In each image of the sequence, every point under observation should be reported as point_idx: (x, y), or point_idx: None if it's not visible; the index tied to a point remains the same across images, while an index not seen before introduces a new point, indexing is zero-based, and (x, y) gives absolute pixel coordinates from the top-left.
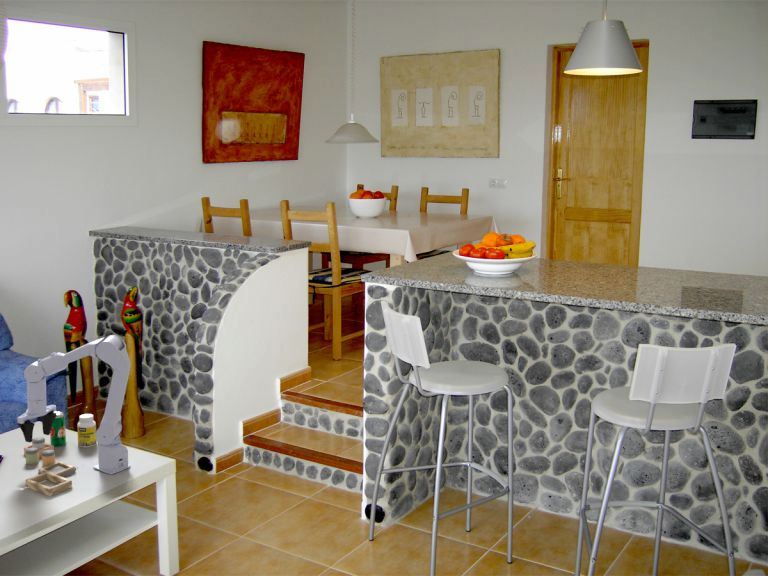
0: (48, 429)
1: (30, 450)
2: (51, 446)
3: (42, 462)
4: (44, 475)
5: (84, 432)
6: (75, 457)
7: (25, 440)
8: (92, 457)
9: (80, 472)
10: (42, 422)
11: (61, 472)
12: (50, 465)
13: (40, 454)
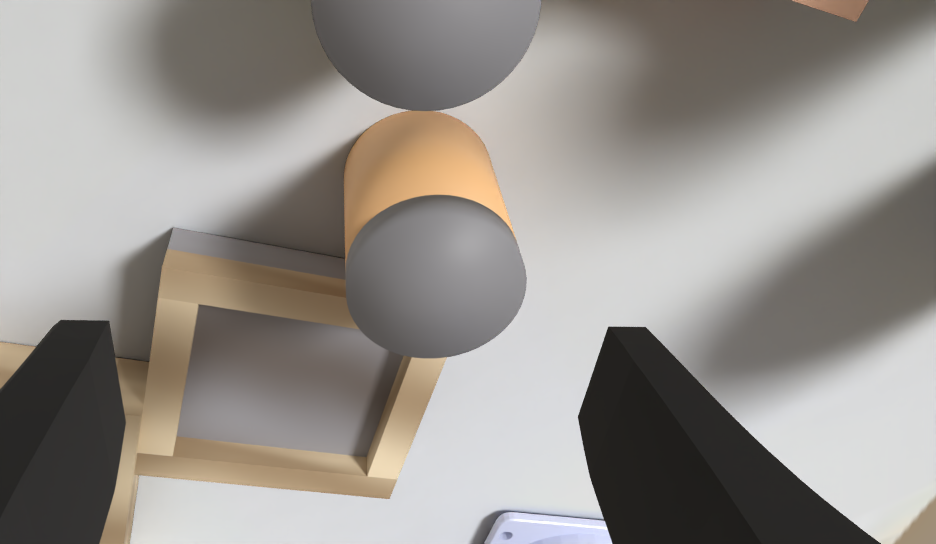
0: (618, 522)
1: (390, 7)
2: (823, 9)
3: (357, 174)
4: None
5: None
6: (712, 263)
7: (43, 341)
8: (731, 383)
9: (394, 486)
10: (739, 528)
11: (231, 478)
12: (316, 312)
13: None
